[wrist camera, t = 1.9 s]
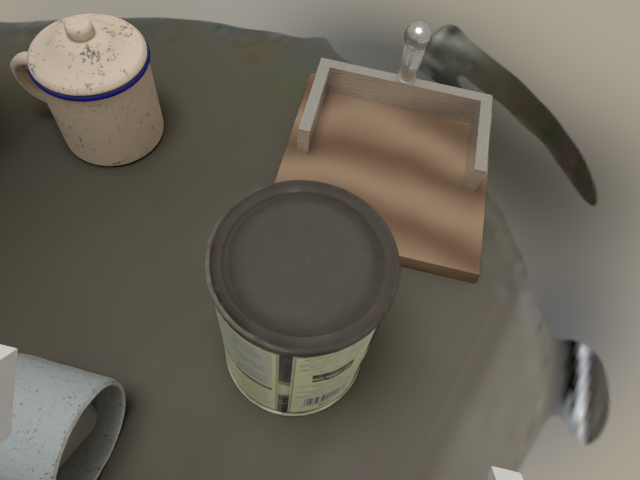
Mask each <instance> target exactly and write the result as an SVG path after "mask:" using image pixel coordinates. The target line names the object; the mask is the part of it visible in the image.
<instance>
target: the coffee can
mask: <svg viewBox="0 0 640 480" xmlns="http://www.w3.org/2000/svg"><path fill="white" fill-rule="evenodd" d="M400 272H401V267H400V257H399V252H398V248H397V245H396V242H395V240H394V237H393V235H392V233H391V231H390V229H389V227H388V225H387V224H386V222H385V221H384V220H383V218H382V217H381V216H380V215H379V214H378V213H377V212H376V211H375V209H373V208H372V207H371V206H370V205H369V204H368V203H366V202H365V201H364V200H362V199H361V198H359V197H358V196H356V195H354V194H352V193H351V192H349V191H347V190H345V189H343V188H340V187H337V186H334V185H331V184H328V183H324V182H318V181H309V180H290V181H282V182H277V183H273V184H269V185H266V186H263V187H260V188H258V189H256V190H254V191H252V192H250V193H248V194H246V195H245V196H243V197H242V198H240V199H239V200H238V201H236V202H235V203H234V204H232V205H231V206H230V207H229V208H228V209H227V210H226V212H225V213H224V214H223V215H222V216H221V218H220V219H219V220H218V222H217V224H216V225H215V227H214V229H213V231H212V233H211V235H210V238H209V241H208V244H207V248H206V253H205V277H206V282H207V286H208V290H209V293H210V296H211V298H212V301H213V303H214V305H215V309H216V313H217V317H218V321H219V326H220V330H221V335H222V339H223V343H224V347H225V353H226V361H227V366H228V369H229V372H230V374H231V377H232V379H233V381H234V383H235V384H236V386H237V387H238V389H239V390H240V391H241V392H242V393H243V395H244V396H245V397H246V398H247V399H248V400H249V401H251V402H252V403H254V404H255V405H257V406H258V407H260V408H262V409H264V410H266V411H268V412H271V413H274V414H278V415H283V416H305V415H309V414H313V413H316V412H319V411H322V410H324V409H326V408H328V407H329V406H331V405H333V404H334V403H335V402H337V401H338V400H339V399H340V398H341V397H342V396H343V395H345V393H346V392H347V391H348V390H349V389H350V387H351V386H352V384H353V382H354V381H355V379H356V377H357V374H358V371H359V368H360V366H361V364H362V361H363V359H364V357H365V355H366V352H367V350H368V348H369V346H370V344H371V342H372V340H373V338H374V336H375V334H376V331H377V329H378V327H379V325H380V323H381V321H382V320H383V319H384V317H385V316H386V314H387V313H388V311H389V309H390V307H391V305H392V304H393V301H394V299H395V296H396V293H397V290H398V287H399V282H400Z"/></svg>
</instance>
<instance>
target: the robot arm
mask: <svg viewBox="0 0 640 480" xmlns="http://www.w3.org/2000/svg"><path fill="white" fill-rule="evenodd" d="M17 350H18V349H17V348H13V347H9V346H5V345H1V344H0V444H1V443H2V442H4V441H5V440H6V439H7V438H8V437H9V436H10V435H11V424H12V412H13V400H14V387H15V375H16V362H17ZM487 480H523V478H522V476H521V473H518V472H514V471H510V470H506V469H502V468H498V467H494V466H491V469H490V472H489V475H488V478H487Z"/></svg>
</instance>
